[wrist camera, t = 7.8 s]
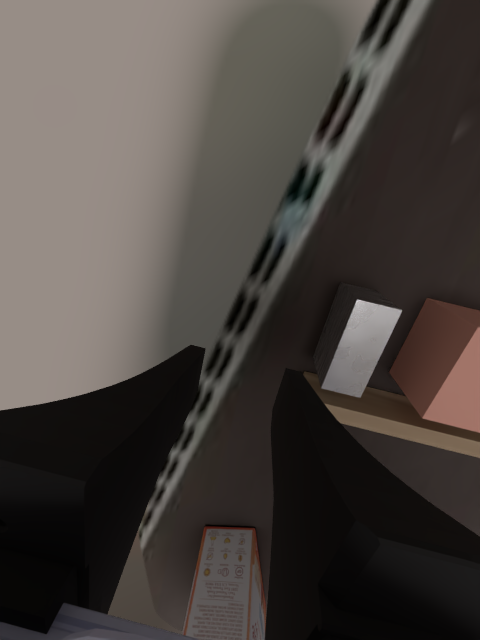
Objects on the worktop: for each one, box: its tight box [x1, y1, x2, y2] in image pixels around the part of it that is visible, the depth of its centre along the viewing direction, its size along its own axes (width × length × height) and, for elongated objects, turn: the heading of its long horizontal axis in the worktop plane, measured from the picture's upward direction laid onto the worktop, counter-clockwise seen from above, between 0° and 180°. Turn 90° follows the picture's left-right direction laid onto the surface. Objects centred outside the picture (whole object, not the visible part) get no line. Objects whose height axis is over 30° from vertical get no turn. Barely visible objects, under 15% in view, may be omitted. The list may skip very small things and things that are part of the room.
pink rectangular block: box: [389, 298, 480, 433], centre depth 17 cm, size 6×4×5 cm, turn 168°
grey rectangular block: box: [313, 282, 402, 398], centre depth 18 cm, size 6×2×4 cm, turn 168°
